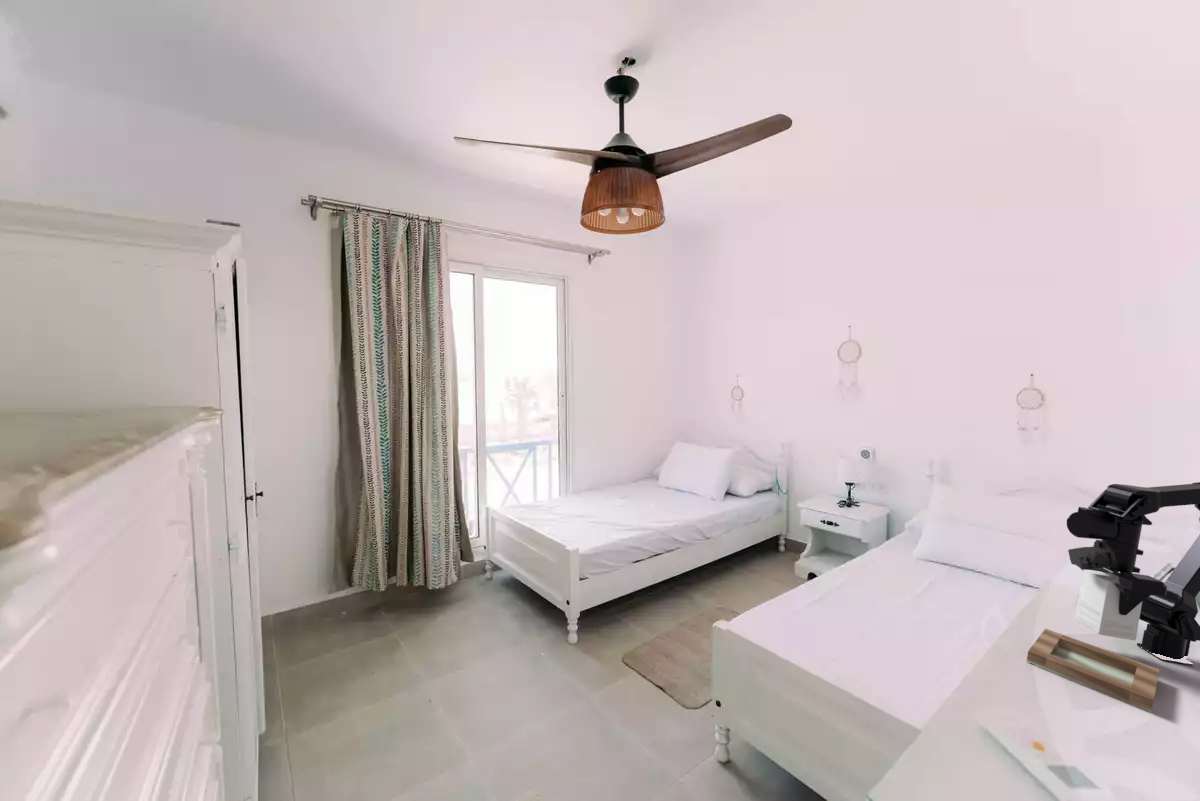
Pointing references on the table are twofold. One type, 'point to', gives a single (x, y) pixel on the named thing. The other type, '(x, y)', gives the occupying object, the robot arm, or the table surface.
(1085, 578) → the supplement box
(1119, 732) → the table surface
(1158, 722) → the table surface
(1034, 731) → the table surface
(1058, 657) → the pocket board
